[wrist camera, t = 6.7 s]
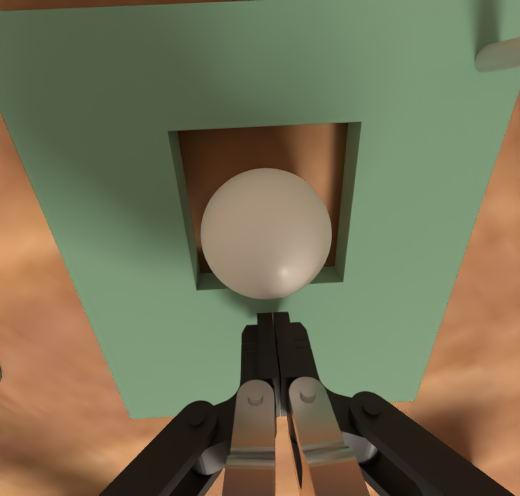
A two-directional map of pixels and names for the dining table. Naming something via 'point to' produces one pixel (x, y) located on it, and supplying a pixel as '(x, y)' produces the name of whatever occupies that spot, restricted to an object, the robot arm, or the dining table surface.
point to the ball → (266, 233)
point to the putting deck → (256, 115)
